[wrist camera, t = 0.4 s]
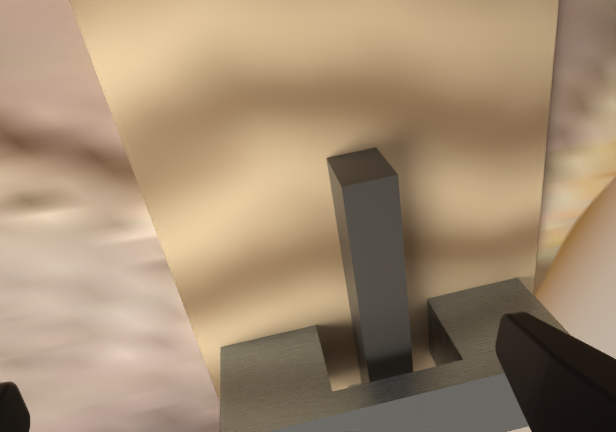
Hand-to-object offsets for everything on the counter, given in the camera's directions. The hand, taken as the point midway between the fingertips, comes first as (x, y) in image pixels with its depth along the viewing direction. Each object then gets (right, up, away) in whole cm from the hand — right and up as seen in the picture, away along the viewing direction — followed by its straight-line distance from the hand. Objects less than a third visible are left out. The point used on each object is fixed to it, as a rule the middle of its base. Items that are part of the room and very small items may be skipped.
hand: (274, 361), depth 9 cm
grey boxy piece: (+4, -4, +17) cm, 18 cm away
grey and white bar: (+4, -3, +16) cm, 17 cm away
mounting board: (+3, +1, +16) cm, 16 cm away
